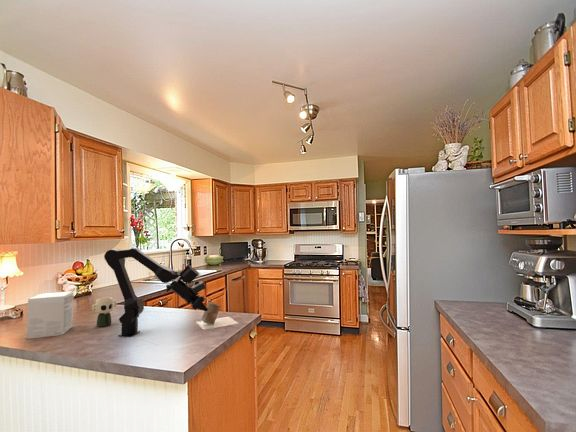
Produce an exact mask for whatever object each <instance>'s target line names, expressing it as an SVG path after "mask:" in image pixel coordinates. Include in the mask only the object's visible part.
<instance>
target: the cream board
mask: <svg viewBox="0 0 576 432" xmlns="http://www.w3.org/2000/svg"><path fill="white" fill-rule="evenodd" d="M196 324H197V325H198V326H199V327H200V328H201V329H202V330H203V331H204V330H210V329H215V328H220V327H225V326H227V327H228V326H232V325H236V324H239V322H237V321H236V320H235V319H233V318H232V317H230V316H224V317H218V318H217V317H216V320H215V322H214V325H212V324H208V323H204V322H203V321H202V320H201V321H196Z"/></svg>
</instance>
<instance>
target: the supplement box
mask: <svg viewBox="0 0 576 432" xmlns="http://www.w3.org/2000/svg"><path fill="white" fill-rule="evenodd" d="M73 307H74V290H72V291H71V290H70V291H59V292H46V293H45V292H44V293H39V294H37V295H34V296H32V297H30V298H27V318H26V319H27V320H26V322H27V323H26V338H25V339H26V340H30V339H31V340H32V339H40V338H47V337H55V336H56V337H57V336H58V337H59V336H63V335H64V334H65V333H67V332H68V331H69V330H70V329H71V328H73V316H74V315H73V314H74V313H73V312H74V311H73V310H74V308H73Z"/></svg>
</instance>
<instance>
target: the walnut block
mask: <svg viewBox="0 0 576 432" xmlns="http://www.w3.org/2000/svg"><path fill="white" fill-rule="evenodd" d="M206 308H207V311H204V313H203V314H202V317H201V319H200V320H201V321H203V322H204V323H208V324H212V325H214V322H215V320H216V319H217V317H218V314H219V311H220V309H221V305H219V304H218V303H215V302H210V301H207V305H206Z"/></svg>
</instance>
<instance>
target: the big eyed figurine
mask: <svg viewBox="0 0 576 432" xmlns="http://www.w3.org/2000/svg"><path fill="white" fill-rule="evenodd" d="M115 307H117V300H114V298H113V297H102V298H97V299H96V300H95V304H92V306H91V311H92V312H95V313H96V314H98V315H97V317H96V318H97V319H96V326H98V327H106V326H110V325H112V316H111V313H110V312H112V311H113V309H114V308H115Z"/></svg>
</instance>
